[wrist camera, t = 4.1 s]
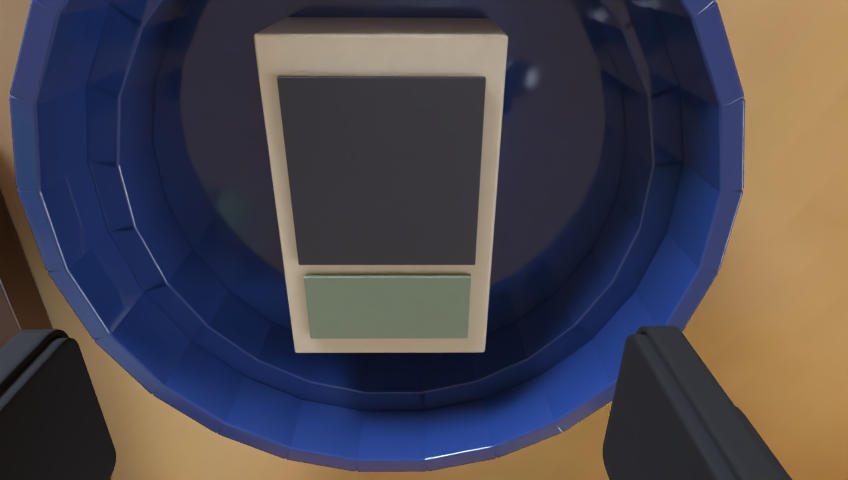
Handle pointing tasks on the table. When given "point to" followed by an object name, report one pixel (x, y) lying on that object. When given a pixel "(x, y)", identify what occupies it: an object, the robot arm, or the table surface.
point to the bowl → (259, 232)
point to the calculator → (384, 177)
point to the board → (17, 286)
